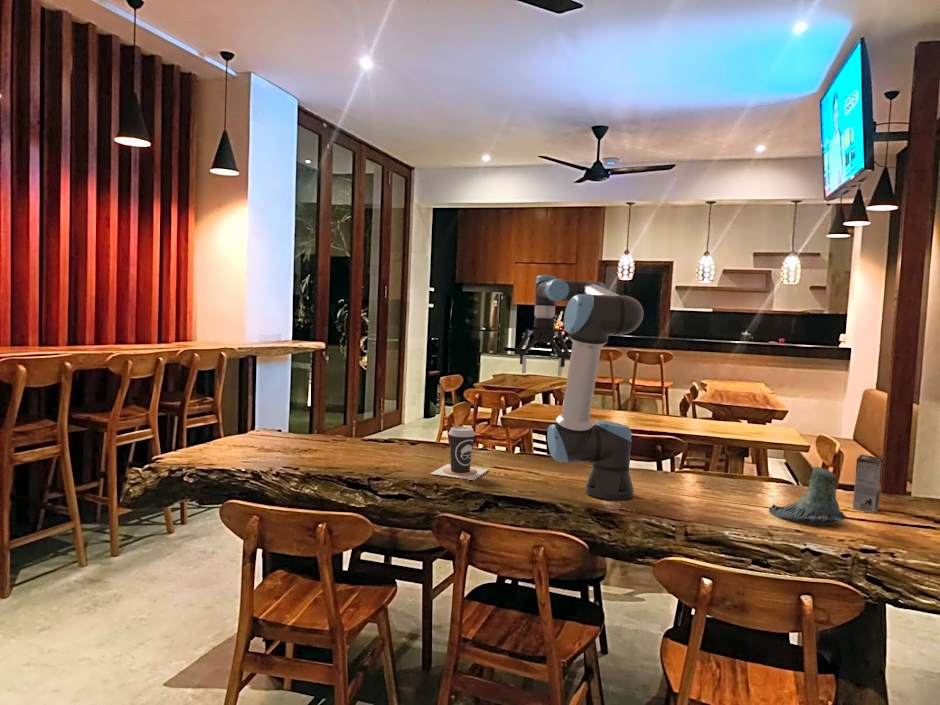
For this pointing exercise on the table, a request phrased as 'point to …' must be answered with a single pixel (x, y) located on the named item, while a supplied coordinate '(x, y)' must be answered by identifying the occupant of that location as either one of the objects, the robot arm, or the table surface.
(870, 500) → the coffee box
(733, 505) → the table surface
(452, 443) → the coffee cup
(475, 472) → the coaster mat
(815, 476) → the tree stump
